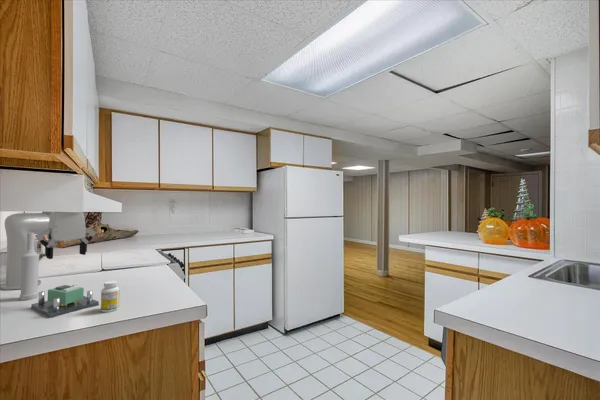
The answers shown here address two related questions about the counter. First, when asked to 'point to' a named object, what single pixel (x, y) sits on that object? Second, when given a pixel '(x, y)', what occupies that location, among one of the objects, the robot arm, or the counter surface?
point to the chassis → (62, 305)
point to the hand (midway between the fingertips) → (66, 256)
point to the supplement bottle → (110, 296)
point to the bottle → (29, 271)
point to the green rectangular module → (66, 294)
